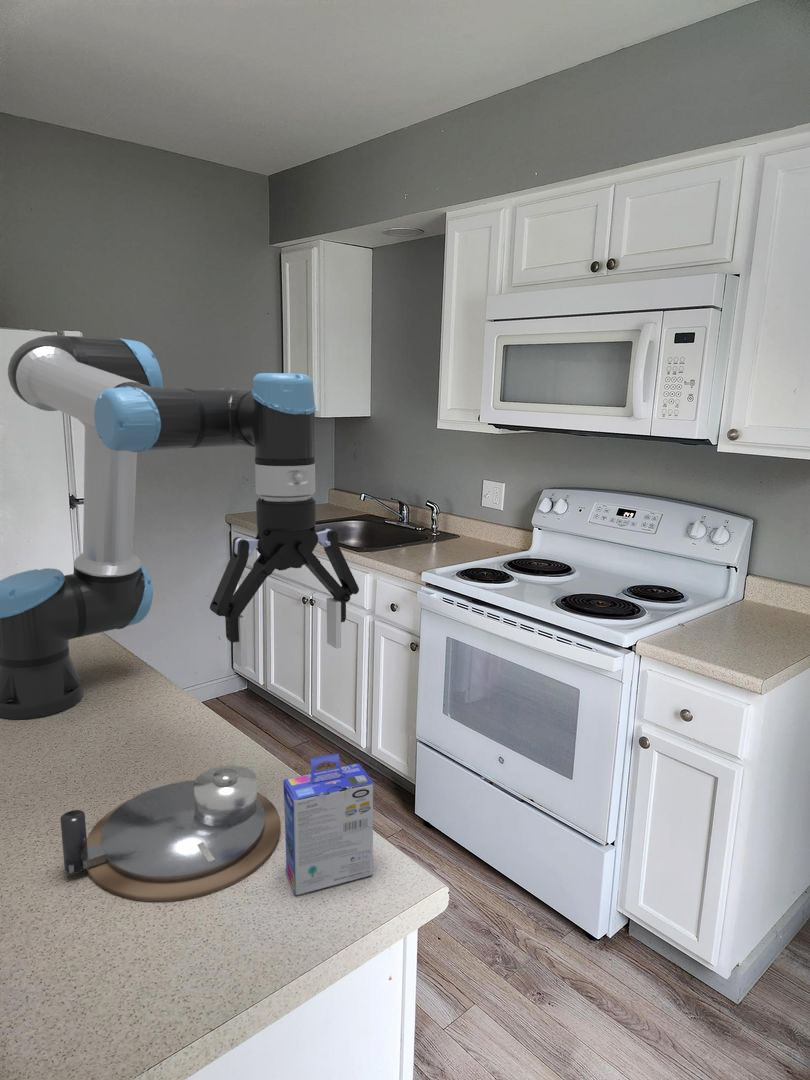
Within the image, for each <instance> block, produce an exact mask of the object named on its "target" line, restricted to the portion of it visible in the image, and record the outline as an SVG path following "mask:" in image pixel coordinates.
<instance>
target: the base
mask: <svg viewBox="0 0 810 1080" xmlns="http://www.w3.org/2000/svg"><path fill="white" fill-rule="evenodd" d="M257 798H258V799H259V800H260V801H261V803H262V805H263V807H264V812H265V828H264V832H263V835H262V837H261V839H260V841H259V842H258V843H257V845H256V846H255V847H254V848H253V849H252V850H251V851H250V852H249V853H248V854H247V855H246V856H244V857H243V858H242V859H240V860H239V861H237V862H236V863H234V864H232V865H230V866H228V867H227V868H225V869H222V870H220V871H218V872H215V873H212V874H209V875H206V876H203V877H199V878H195V879H191V880H184V881H177V882H150V881H142V880H137V879H133V878H130V877H127V876H125V875H123V874H121V873H119V872H117V871H116V870H114V869H113V868H111V867H110V866H109V864H108V863H107V862H104V863H101V864H98V865H95V866H92V867H89V868H86V869H85V871H86V872H87V875H88V876H89V878H90V879H91V880H92V881H93V882H94V883H95V885H97V886H98V887H99V888H101V889H102V890H104V891H106V892H108V893H110V894H112V895H114V896H118V897H120V898H124V899H128V900H132V901H137V902H139V901H140V902H148V903H167V902H179V901H186V900H190V899H195V898H200V897H204V896H208V895H210V894H214V893H216V892H220V891H222V890H224V889H226V888H229V887H230V886H233V885H235V884H237V883H239V882H241V881H242V880H245V879H246V878H248V877H249V876H250V875H252V874H254V873H255V872H256V871H257V870H258V869H260V867H262V866H263V865H264V864H265V863H266V862H267V860H269V858H271V856H272V855H273V853H274V852H275V850H276V849H277V847H278V844H279V841H280V837H281V818H280V814H279V812H278V810H277V808H276V806H275V805H274V804H273V803H272V802H271V801H270V800H269V799H268V798H267V797H265V796H264V795H263V794H261V793H259V792H258V791H257ZM129 800H130V799H128V800H126V801H124V802H123V803H120V804H119V805H117V806H115V807H114V808H113V809H112V810H110V811H109V812H108V813H107V814H105V815H104V816H103V817H102V818H101V819H99V820H98V822H96V824H95V825H94V826H93V828H91V830H90V832H89V833H88V834H87V848H89V847H92V846H95V845H98V844H101V832H102V829H103V826H104V824H105V822H106V821H107V819H108V818H109V817H110V816H111V814H112V813H113V812H114V811H115V810H117V809H118V808H119V807H120V806H121V805H123V804H124V803H126V802H127V801H129Z"/></svg>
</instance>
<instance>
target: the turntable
mask: <svg viewBox="0 0 810 1080" xmlns="http://www.w3.org/2000/svg"><path fill="white" fill-rule="evenodd" d="M194 782H195V780H187V781H180V782H173V783H169V784H164V785H162V786H161V785H160V786H157V787H156V788H155V787H154V788H152V789H149V790H146V791H144V792H142V793H140V794H138V795H136V796H133V797H132V798H130V799H128V800H129V801H128V800H126V801H127V802H126V801H125V802H126V803H124V802H123V803H124V804H123V803H122V804H123V805H121V804H120V805H121V806H120V807H119V808H118V809H117V810H115V811H114V812H113V813H112V814H111V816H110V817H109V818H108V819H107V821H106V822H105V824H104V826H103V829H102V832H101V844H98V845H95V846H92V847H89V848H87V837H88V834H87V825H86V823H87V822H86V814H85V812H84V811H83V810H80V809H73V810H71V811H67V812H65V813H62V815H61V816H60V831H61V841H62V852H63V853H62V854H63V865H64V866H63V867H64V871H65V872H66V873H69V874H76V873H80V872H83V871H84V870H86V868H89V867H92V866H95V865H98V864H101V863H104V862H107V863H108V864H109V866H110V867H111V868H113V869H114V870H116V871H117V872H119V873H121V874H123V875H125V876H127V877H130V878H133V879H137V880H142V881H150V882H177V881H184V880H191V879H195V878H199V877H203V876H206V875H209V874H212V873H215V872H218V871H220V870H222V869H225V868H227V867H228V866H230V865H232V864H234V863H236V862H237V861H239V860H240V859H242V858H243V857H244V856H246V855H247V854H248V853H249V852H250V851H251V850H252V849H253V848H254V847H255V846H256V845H257V843H258V842H259V841H260V839H261V837H262V835H263V832H264V828H265V812H264V807H263V805H262V803H261V801H260V800H259V799H258V798H257V810H256V812H255V813H254V814H253V815H252V816H251V817H250V818H249V819H247V820H245V821H243V822H241V823H238V824H235V825H231V826H210V825H206V824H204V823H202V822H200V821H199V820H198V819H197V818H196V816H195V801H194Z"/></svg>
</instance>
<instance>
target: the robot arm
mask: <svg viewBox="0 0 810 1080" xmlns="http://www.w3.org/2000/svg"><path fill="white" fill-rule="evenodd" d="M8 363H9V364H8V366H7V367H8V368H7V377H8V380H9V384H10V387H11V388H12V390H13V392H14V393H15V394H16V395H17V397H18V398H19V399H20V400H22V401H23V402H24V403H27V405H30V406H32V407H34V408H36V409H39V410H43V411H45V412H57V411H58V412H59V411H60V412H62V413H64V414H66V415H68V416H70V417H73V418H75V419H77V420H78V421H79V422H80V423H81V424H82V425H83V427H84V453H83V454H84V456H83V457H84V459H83V460H84V467H83V471H84V472H83V475H84V476H83V525H82V526H83V527H82V528H83V532H82V533H83V534H82V535H83V537H82V553H81V554H80V555H78V556H77V557H76V558H75V559H74V561H73V573H72V574H66V575H65V574H64V573H63V572H62V571H61V570H60V569H57V568H50V567H49V568H41V569H37V568H36V569H30V570H25V571H21V572H18V573H15V574H12V575H9V576H7V577H4V578H3V579H1V580H0V718H3V719H8V720H9V719H10V720H25V719H26V720H27V719H35V718H36V719H37V718H41V717H46V716H50V715H54V714H57V713H60V712H63V711H65V710H68V709H70V708H71V707H74V706H75V705H76V704H78V703H79V702H80V701H81V700H82V698H83V696H84V693H83V692H84V691H83V690H84V689H83V682H82V679H81V677H80V676H79V675H80V674H79V672H78V671H77V669H76V667H75V665H74V662H73V661H72V658H71V655H70V647H69V646H70V645H69V644H70V643H69V642H70V640H73V639H77V638H81V637H86V636H90V635H95V634H99V633H103V632H108V631H109V632H110V631H113V630H122V629H125V628H126V627H129V626H134V625H136V624H139V623H141V622H142V621H143V620H144V619H146V617H147V615H148V614H149V612H150V610H151V608H152V603H153V597H154V595H153V594H154V593H153V592H154V591H153V587H154V586H153V585H152V584H151V582H152V578H151V575H150V573H149V571H148V569H147V568H146V567H145V566H144V565H142V561H141V559H140V558H139V557H138V556H136V555H135V554H134V539H135V538H134V537H135V531H134V530H135V512H136V511H135V510H136V508H135V507H136V490H137V489H136V484H137V464H138V462H137V459H138V453H141V452H145V451H159V450H160V451H161V450H177V449H198V448H200V449H202V448H220V447H221V448H222V447H249V448H254V465H255V466H254V473H255V474H254V475H255V494H257V495H258V496H260V497H259V498H258V499H257V500H256V502H255V507H256V508H255V509H256V510H255V511H256V514H255V515H256V528H257V529H256V530H257V533H256V537H255V538H254V539H248V538H245V539H244V538H242V537H239V536H236V537H234V538H233V541H232V551H231V556H230V558H229V559H228V563H227V565H226V568H225V570H224V572H223V575H222V577H221V579H220V582H219V584H218V586H217V587H216V590H215V593H214V595H213V597H212V601H211V602H210V605H209V609H210V611H212V613H214V614H215V615H216V616H217V617H224V618H225V637H226V639H227V640H228V641H229V643H231V644H232V643H233V645H232V646H233V663H235V664H236V665H237V666H238V667H239V668H241V669H245V668H248V648H247V647H248V646H247V617H244V616H243V615H242V613H243V612H244V610H245V608H246V607H247V606H248V604H249V603H250V601H252V599H253V597H254V596H255V595H256V593H257V592H258V591H259V589H260V587H261V586H262V585H263V583H264V582H265V581H266V579H267V578H268V577H269V576H271V575H272V574H273V573H274V571H275V570H278V571H286V570H288V569H290V568H292V569H301V568H302V566H305V567H306V568H307V569H308V570H309V571H310V572H311V573H312V575H313V576H315V578H316V579H317V581H319V582H320V583H321V585H323V587H324V588H325V589H326V590H327V591H328V593H330V595H332V597H328V598H326V643H327V644H328V645H330V646H331V647H333V648H335V649H341V648H342V623H345V622H346V619H347V603H348V602H349V601H351V596H352V595H357V594H358V593H359V592H360V588H359V586H358V584H357V581H356V579H355V577H354V574H353V572H352V570H351V569H350V567H349V564H348V562H347V561H346V559H345V556H344V554H343V552H342V550H341V548H340V546H339V545H340V542H339V535H338V532H337V531H335V530H333V529H330V528H327V527H323V528H322V529H321V531H318V532H317V531H316V524H317V523H316V522H317V509H316V507H317V505H316V504H317V503H316V502H317V501H316V500H315V498H313V497H312V496H313V495H314V494H315V493H316V463H315V461H316V460H315V458H316V451H315V450H316V435H315V434H316V432H315V431H316V427H315V426H316V425H315V424H316V423H315V422H316V421H315V420H316V415H315V414H316V413H315V412H316V409H317V407H316V406H317V405H316V404H315V393H314V382H313V380H312V378H311V377H310V376H309V375H307V374H304V373H286V372H285V373H283V372H280V373H278V372H262V373H261V372H260V373H257V374H256V375H254V377H253V379H252V389H245V388H244V389H243V388H235V387H234V388H232V387H229V388H223V387H222V388H171V387H170V388H168V387H164V383H163V374H162V369H161V368H160V364H159V361H158V360H157V357H156V356H155V354H154V353H153V351H152V349H151V348H150V347H148V345H146V344H145V343H143V342H141V341H137V340H133V339H132V340H131V339H126V338H125V339H124V338H121V337H120V338H119V337H103V336H101V337H100V336H99V337H97V336H78V335H77V336H74V335H73V336H72V335H71V336H70V335H63V334H51V335H43V336H38V337H35V338H34V339H33V338H32V339H31V340H28V341H26V342H25V343H23V344H22V345H21V346H19V347H18V348H17V349H16V350H15V351H14V352H13V354H12V356H11V357H10V359H9V361H8ZM318 543H319V546H322V548H323V550H324V553H325V554H326V556H327V558H328V560H329V563H330V564H331V566H332V568H333V571H334V573H335V575H336V577H337V578H338V581H339V583H340V584H341V585H340V584H339V583H338V582H337V580H336V579H335V578H334V577H333V575H331V573H330V572H329V571H328V570H327V569H326V568H325V567H324V565H323V564H322V563H321V561H320V559H318V557H317V556H316V555H315V554H314V553H313V551H314V550H315V549H316V547H317V545H318ZM254 550H256V551H257V553H259V556H257V559H256V560H254V561H255V562H253V566H252V568H251V569H250V571H249V573H248V574H247V575H246V577H245V578H244V580H243V581H242V582H241V584H240V585H239V586H238V584H239V582H240V581H241V578H242V575H243V573H244V570H245V568H246V566H247V563H248V560H249V558H250V557H251V556H252V555H253V552H254ZM237 587H238V588H237Z"/></svg>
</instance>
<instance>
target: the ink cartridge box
mask: <svg viewBox="0 0 810 1080" xmlns="http://www.w3.org/2000/svg"><path fill="white" fill-rule="evenodd" d="M309 763H310V764H309V766H310V773H308V774H303V775H298V776H295V777H290V778H284V779H283V781H282V782H283V804H284V806H283V807H284V829H285V830H284V831H285V835H284V837H285V873H286V876H287V880H288V882H289V885H290V887H291V891H292V893H293V895H294V896H300V895H304V894H307V893H310V892H314V891H318V890H321V889H325V888H328V887H333V886H337V885H340V884H344V883H347V882H352V881H355V880H358V879H362V878H366V877H369V876H373V872H374V870H373V868H374V864H373V863H374V862H373V861H374V854H373V853H374V851H373V850H374V848H373V847H374V825H373V823H374V785H375V784H374V781H373V780H372V778H371V777H370V776H369V775H368V773H367V772H366V771H365V769H364V768H363V767H362V765H361V764H360V763H354V764H350V765H345V766H342V764H341V759H340V754H339V753H333V754H328V755H322V756H317V757H311V758H309ZM324 763H335V767H331V768H327V769H322V770H317V769H316V767H318V766H320V765H322V764H324Z"/></svg>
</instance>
